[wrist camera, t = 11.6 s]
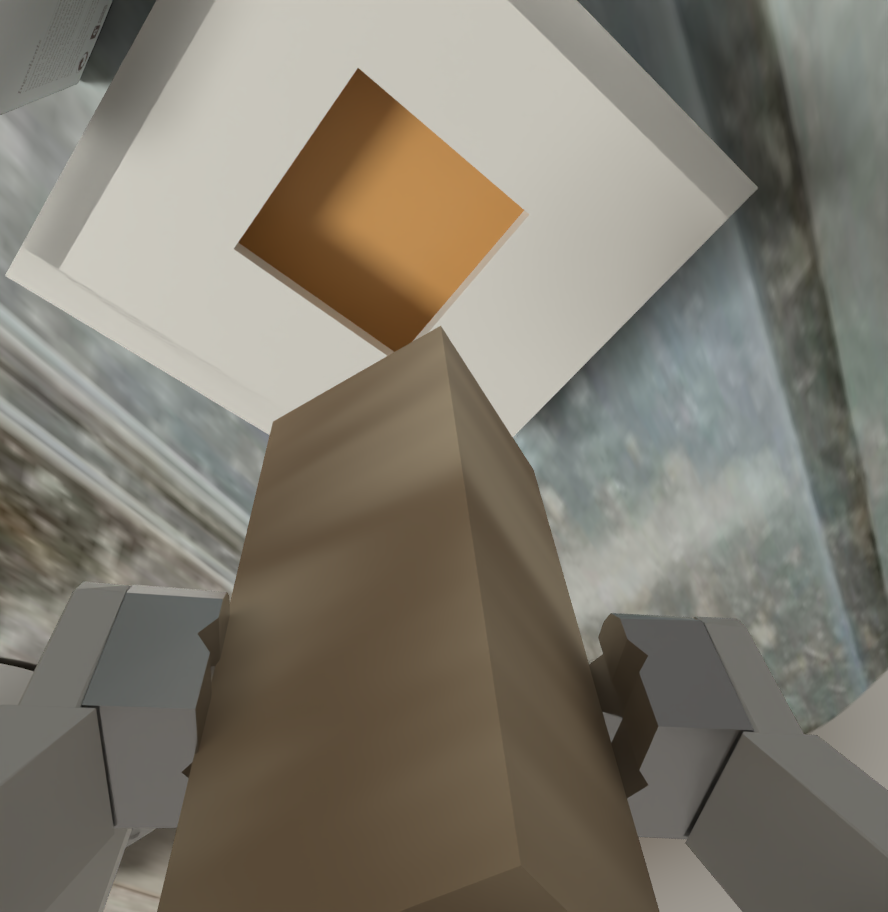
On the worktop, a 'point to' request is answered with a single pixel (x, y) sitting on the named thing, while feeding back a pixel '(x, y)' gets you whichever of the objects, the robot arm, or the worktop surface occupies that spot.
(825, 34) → the worktop surface
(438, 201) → the button
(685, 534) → the worktop surface
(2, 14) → the skincare box
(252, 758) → the brown wooden block
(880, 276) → the worktop surface
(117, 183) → the box
